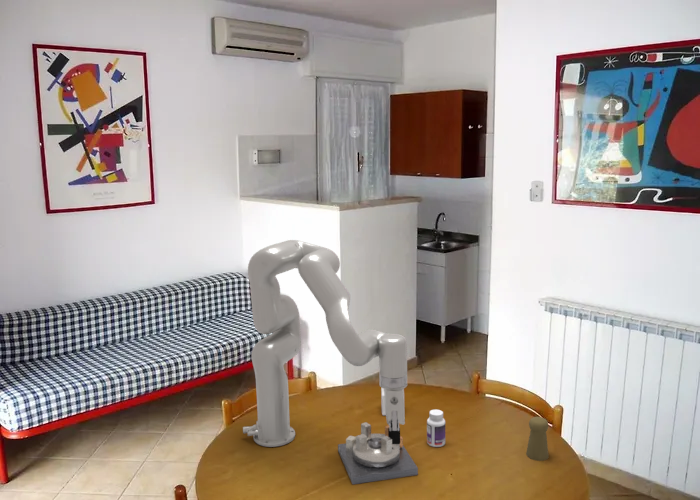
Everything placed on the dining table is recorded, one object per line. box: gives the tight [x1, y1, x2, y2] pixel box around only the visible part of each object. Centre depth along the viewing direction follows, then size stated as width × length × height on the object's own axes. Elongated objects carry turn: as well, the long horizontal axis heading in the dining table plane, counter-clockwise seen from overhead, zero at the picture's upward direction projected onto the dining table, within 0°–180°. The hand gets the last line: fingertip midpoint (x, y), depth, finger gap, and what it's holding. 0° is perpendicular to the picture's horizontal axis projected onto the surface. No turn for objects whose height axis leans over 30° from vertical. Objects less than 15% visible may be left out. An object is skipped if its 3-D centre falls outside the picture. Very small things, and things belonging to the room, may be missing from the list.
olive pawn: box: [525, 416, 550, 462], centre depth 170 cm, size 6×6×11 cm
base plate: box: [337, 435, 419, 485], centre depth 168 cm, size 18×18×6 cm
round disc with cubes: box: [353, 421, 404, 467], centre depth 168 cm, size 15×13×7 cm
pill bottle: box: [426, 409, 446, 448], centre depth 178 cm, size 5×5×10 cm
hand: (394, 442), depth 167 cm, fingers closed
